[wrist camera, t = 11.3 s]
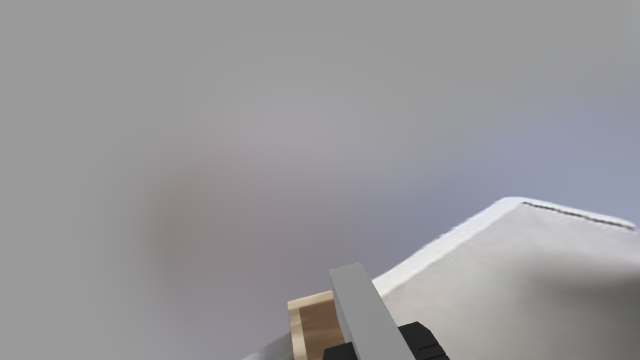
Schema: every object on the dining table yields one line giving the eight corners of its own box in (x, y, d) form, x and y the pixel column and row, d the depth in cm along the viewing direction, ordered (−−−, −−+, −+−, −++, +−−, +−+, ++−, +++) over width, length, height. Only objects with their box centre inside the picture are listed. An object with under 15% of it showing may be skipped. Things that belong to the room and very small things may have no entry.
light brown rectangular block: (306, 432, 32) (292, 322, 47) (396, 404, 34) (354, 306, 49) (299, 405, 31) (287, 301, 46) (393, 377, 32) (351, 285, 47)
